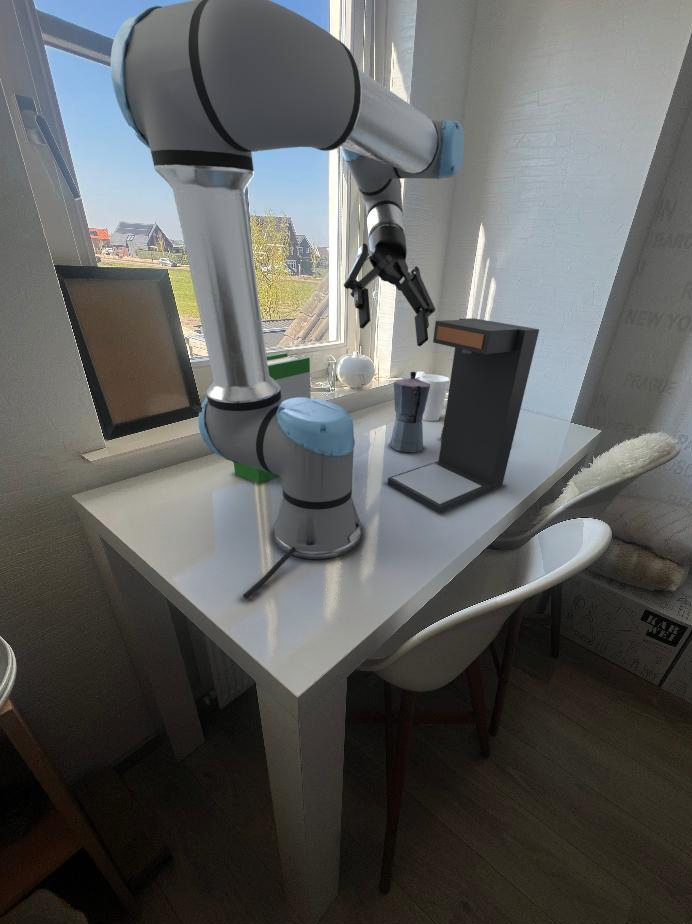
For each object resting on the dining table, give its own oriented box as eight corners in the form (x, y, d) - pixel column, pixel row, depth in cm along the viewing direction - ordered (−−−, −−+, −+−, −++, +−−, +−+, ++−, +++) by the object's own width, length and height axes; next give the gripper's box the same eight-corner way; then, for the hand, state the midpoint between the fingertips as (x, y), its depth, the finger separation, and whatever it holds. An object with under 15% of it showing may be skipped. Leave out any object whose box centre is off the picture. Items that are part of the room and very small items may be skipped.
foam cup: (411, 413, 141) (415, 374, 134) (436, 413, 144) (441, 374, 137) (422, 423, 133) (426, 381, 127) (448, 422, 136) (454, 381, 129)
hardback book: (289, 451, 107) (284, 352, 95) (311, 458, 104) (309, 357, 92) (235, 474, 94) (221, 363, 82) (258, 483, 91) (248, 369, 79)
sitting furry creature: (431, 403, 154) (436, 369, 147) (431, 410, 146) (436, 375, 140) (406, 400, 154) (409, 367, 148) (404, 407, 147) (408, 372, 141)
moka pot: (416, 437, 122) (424, 366, 112) (432, 459, 109) (443, 380, 99) (384, 438, 120) (389, 365, 109) (397, 460, 107) (404, 380, 97)
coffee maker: (439, 513, 85) (468, 334, 68) (387, 483, 95) (400, 320, 78) (502, 485, 98) (539, 329, 81) (450, 462, 108) (473, 318, 91)
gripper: (423, 271, 95) (432, 358, 91) (322, 227, 81) (328, 327, 78) (445, 248, 89) (456, 340, 85) (340, 196, 75) (347, 302, 71)
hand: (395, 334), depth 81 cm, fingers open, 13 cm apart
